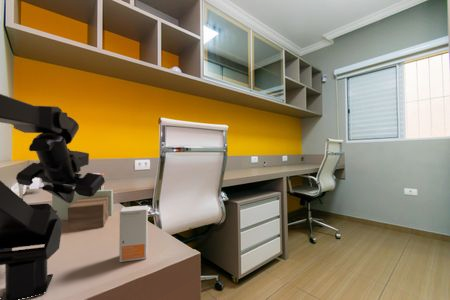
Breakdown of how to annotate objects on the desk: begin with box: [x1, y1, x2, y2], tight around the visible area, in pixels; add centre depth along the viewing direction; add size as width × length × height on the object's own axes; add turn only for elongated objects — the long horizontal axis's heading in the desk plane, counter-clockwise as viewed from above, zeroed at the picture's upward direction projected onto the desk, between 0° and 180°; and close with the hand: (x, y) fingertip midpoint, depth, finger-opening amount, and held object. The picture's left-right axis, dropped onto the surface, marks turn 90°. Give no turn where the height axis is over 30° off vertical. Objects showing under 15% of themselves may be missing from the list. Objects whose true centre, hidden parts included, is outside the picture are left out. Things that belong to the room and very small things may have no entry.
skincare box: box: [119, 205, 149, 263], centre depth 52 cm, size 6×4×12 cm
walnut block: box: [67, 196, 109, 233], centre depth 77 cm, size 14×10×8 cm
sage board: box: [51, 189, 114, 221], centre depth 84 cm, size 3×20×10 cm, turn 107°
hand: (70, 201), depth 58 cm, fingers closed
